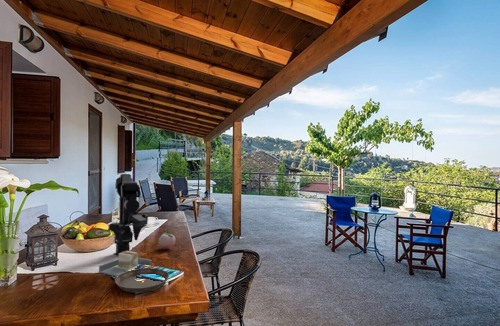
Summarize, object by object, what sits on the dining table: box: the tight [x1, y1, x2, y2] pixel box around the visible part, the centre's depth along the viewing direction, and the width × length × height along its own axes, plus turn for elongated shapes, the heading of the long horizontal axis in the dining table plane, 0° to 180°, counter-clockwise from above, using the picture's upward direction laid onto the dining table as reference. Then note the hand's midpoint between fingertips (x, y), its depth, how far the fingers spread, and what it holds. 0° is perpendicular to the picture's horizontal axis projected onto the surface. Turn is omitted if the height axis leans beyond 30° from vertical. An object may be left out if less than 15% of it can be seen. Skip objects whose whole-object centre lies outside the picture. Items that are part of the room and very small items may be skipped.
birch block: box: [118, 250, 139, 269], centre depth 144 cm, size 5×7×6 cm
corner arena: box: [98, 257, 153, 277], centre depth 141 cm, size 15×17×3 cm
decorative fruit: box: [158, 231, 176, 250], centre depth 175 cm, size 9×8×10 cm
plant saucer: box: [114, 267, 170, 294], centre depth 125 cm, size 21×21×3 cm
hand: (128, 242), depth 144 cm, fingers open, 9 cm apart
